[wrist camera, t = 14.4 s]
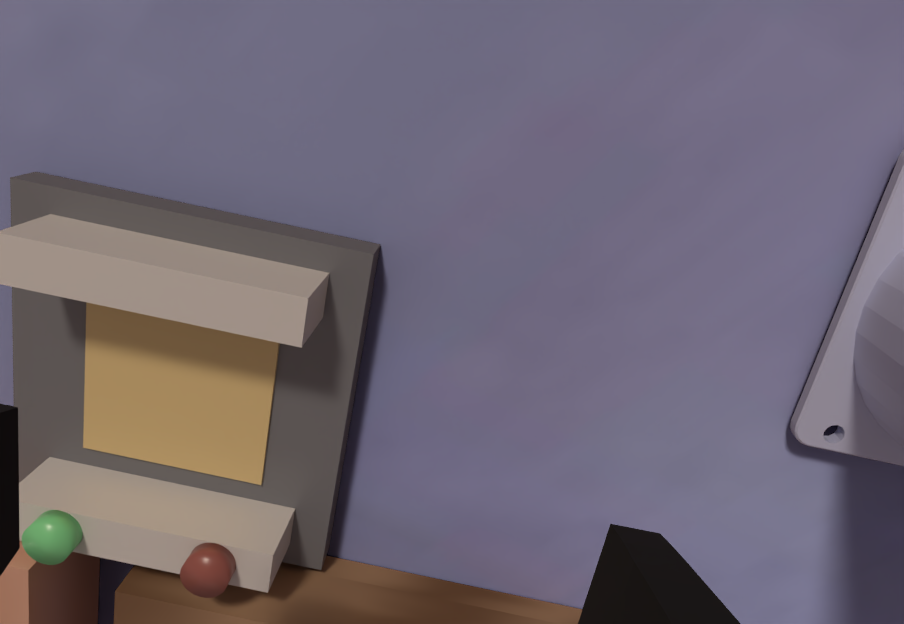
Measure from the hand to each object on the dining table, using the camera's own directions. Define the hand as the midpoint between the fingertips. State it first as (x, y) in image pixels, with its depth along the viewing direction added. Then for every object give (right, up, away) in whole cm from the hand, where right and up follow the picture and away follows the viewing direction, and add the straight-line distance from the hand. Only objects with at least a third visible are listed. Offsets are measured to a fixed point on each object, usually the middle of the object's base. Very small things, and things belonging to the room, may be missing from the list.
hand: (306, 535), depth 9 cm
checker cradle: (-5, +1, +11) cm, 12 cm away
